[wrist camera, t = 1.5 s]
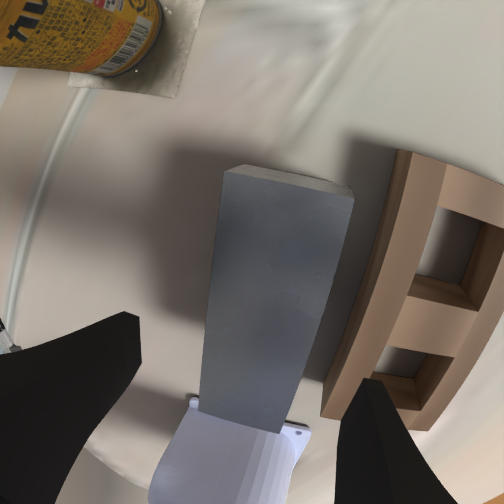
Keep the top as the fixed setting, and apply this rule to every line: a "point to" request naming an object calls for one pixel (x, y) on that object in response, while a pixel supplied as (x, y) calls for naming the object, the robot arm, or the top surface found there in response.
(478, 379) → the top surface
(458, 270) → the top surface
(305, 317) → the tall grey block
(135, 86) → the condiment
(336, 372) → the brown slotted tray
